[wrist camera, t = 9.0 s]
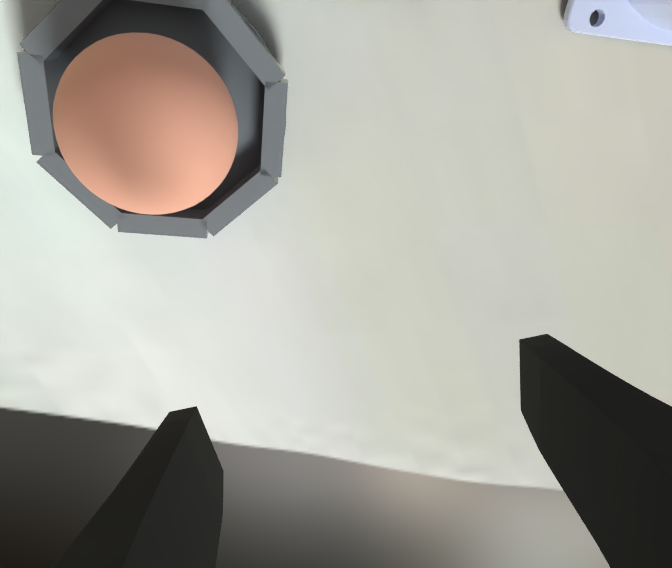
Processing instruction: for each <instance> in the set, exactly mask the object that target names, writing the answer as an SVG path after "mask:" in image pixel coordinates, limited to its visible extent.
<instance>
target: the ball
mask: <svg viewBox="0 0 672 568" xmlns="http://www.w3.org/2000/svg"><path fill="white" fill-rule="evenodd" d="M53 125H54V131H55V136H56V140H57V143H58V146H59V149H60V152H61V154H62V156H63V158H64V160H65V162H66V163H67V165H68V166H69V168H70V170H71V171H72V173H73V174H74V175H75V176H76V177H77V179H78V180H79V181H80V182H81V183H82V184H83V185H84V186H85V187H86V188H87V189H88V190H90V191H91V192H92V193H94V194H95V195H96V196H97V197H99V198H101V199H102V200H104V201H106V202H107V203H109V204H111V205H114V206H116V207H118V208H121V209H124V210H127V211H130V212H135V213H139V214H149V215H159V214H168V213H174V212H177V211H181V210H185V209H187V208H189V207H192V206H194V205H196V204H198V203H199V202H201V201H203V200H204V199H205V198H207V197H208V196H209V195H210V194H211V193H212V192H213V191H214V190H215V189H216V188H217V187H218V186H219V185H220V184H221V183H222V181H223V180H224V179H225V177H226V175H227V174H228V172H229V170H230V168H231V165H232V163H233V160H234V157H235V153H236V149H237V144H238V121H237V115H236V110H235V107H234V104H233V101H232V98H231V96H230V93H229V91H228V89H227V87H226V85H225V84H224V82H223V80H222V79H221V77H220V76H219V75H218V73H217V72H216V71H215V69H214V68H213V67H212V66H211V65H210V64H209V63H208V62H207V61H206V60H205V59H204V58H203V57H201V56H200V55H199V54H198V53H196V52H195V51H194V50H192V49H191V48H189V47H187V46H186V45H184V44H182V43H180V42H178V41H175V40H173V39H171V38H167V37H164V36H161V35H156V34H150V33H135V32H131V33H122V34H117V35H113V36H109V37H106V38H104V39H102V40H99V41H97V42H95V43H94V44H92V45H90V46H89V47H87V48H86V49H84V50H83V51H82V52H81V53H80V54H79V55H78V56H76V57H75V58H74V59H73V61H72V62H71V63H70V64H69V66H68V67H67V68H66V70H65V72H64V74H63V75H62V77H61V79H60V82H59V85H58V87H57V90H56V94H55V98H54V103H53Z"/></svg>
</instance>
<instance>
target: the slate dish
mask: <svg viewBox="0 0 672 568" xmlns="http://www.w3.org/2000/svg"><path fill="white" fill-rule="evenodd" d="M131 32H135V33H150V34H156V35H161V36H164V37H167V38H171V39H173V40H175V41H178V42H180V43H182V44H184V45H186V46H187V47H189V48H191V49H192V50H194V51H195V52H196V53H198V54H199V55H200V56H201V57H203V58H204V59H205V60H206V61H207V62H208V63H209V64H210V65H211V66H212V67H213V68H214V69H215V71H216V72H217V73H218V75H219V76H220V77H221V79H222V80H223V82H224V84H225V85H226V87H227V89H228V91H229V93H230V96H231V98H232V101H233V104H234V107H235V110H236V115H237V121H238V144H237V149H236V153H235V157H234V160H233V163H232V165H231V168H230V170H229V172H228V174H227V175H226V177H225V179H224V180H223V181H222V183H221V184H220V185H219V186H218V187H217V188H216V189H215V190H214V191H213V192H212V193H211V194H210V195H209V196H208V197H207V198H205V199H204V200H203V201H201V202H199V203H198V204H196V205H194V206H192V207H189V208H187V209H185V210H181V211H177V212H174V213H168V214H159V215H149V214H139V213H135V212H130V211H127V210H124V209H121V208H118V207H116V206H114V205H111V204H109V203H107V202H106V201H104V200H102V199H101V198H99V197H97V196H96V195H95V194H94V193H92V192H91V191H90V190H88V189H87V188H86V187H85V186H84V185H83V184H82V183H81V182H80V181H79V180H78V179H77V177H76V176H75V175H74V174H73V173H72V171H71V170H70V168H69V166H68V165H67V163H66V162H65V160H64V158H63V156H62V154H61V152H60V149H59V146H58V143H57V140H56V136H55V131H54V125H53V103H54V98H55V94H56V90H57V87H58V85H59V82H60V79H61V77H62V75H63V74H64V72H65V70H66V68H67V67H68V66H69V64H70V63H71V62H72V61H73V59H74V58H75V57H76V56H78V55H79V54H80V53H81V52H82V51H83V50H84V49H86V48H87V47H89V46H90V45H92V44H94V43H95V42H97V41H99V40H102V39H104V38H106V37H109V36H113V35H117V34H122V33H131ZM20 45H21V46H22V47H23V48H24V49H25V50H26V51H23V52H17V55H18V62H19V69H20V76H21V83H22V89H23V96H24V103H25V110H26V116H27V123H28V130H29V137H30V144H31V150H32V155H42V157H41V158H40V159H39V160H38V161H37V163H38V164H39V165H40V166H41V167H42V168H44V169H45V170H46V171H47V172H48V173H49V174H50V175H51V176H52V177H54V178H55V179H56V180H57V181H58V182H59V183H60V184H61V185H63V186H64V187H65V188H66V189H67V190H68V191H69V192H70V193H71V194H73V195H74V196H75V197H76V198H77V199H78V200H79V201H80V202H82V203H83V204H84V205H85V206H86V207H87V208H88V209H89V210H90V211H92V212H93V213H94V214H95V215H96V216H97V217H98V218H99V219H101V220H102V221H103V222H104V223H105V224H106V225H107V226H108V227H109V228H112V227H113V226H114V225H116V224H118V232H127V233H141V234H155V235H168V236H182V237H196V238H207V236H208V233H209V232H210V233H211V234H212V235H213V236H214V235H216V234H217V233H218V232H219V231H221V230H222V229H223V228H224V227H225V226H227V225H228V224H229V223H230V222H231V221H233V220H234V219H235V218H236V217H238V216H239V215H240V214H241V213H242V212H244V211H245V210H246V209H247V208H249V207H250V206H251V205H252V204H253V203H255V202H256V201H257V200H258V199H260V198H261V197H262V196H263V195H264V194H266V193H267V192H268V191H269V190H270V189H272V188H273V187H274V186H275V185H277V184H278V177H281V171H282V157H283V143H284V135H285V127H286V102H287V88H288V80H287V79H282V78H283V77H284V76H285V71H284V70H283V68H282V67H281V66H280V64H279V63H278V62H277V61H276V59H275V58H274V57H273V55H272V54H271V52H270V50H269V49H268V47H267V45H266V43H265V42H264V40H263V39H262V37H261V36H260V34H259V33H258V31H257V30H256V29H255V28H254V27H253V25H252V24H251V23H250V22H249V21H248V20H247V19H246V17H245V16H244V15H242V14H241V13H240V12H239V11H238V10H237V9H236V8H235V7H234V6H233V4H232V3H231V2H230V1H229V0H61V1H60V2H59V3H58V4H57V5H56V6H55V7H54V8H53V9H52V10H51V11H50V12H49V13H48V14H47V16H46V17H45V18H44V19H43V20H42V21H41V22H40V23H39V24H38V25H37V26H36V27H35V28H34V29H33V30H32V31H31V32H30V34H29V35H28V36H27V37H26V38H25V39H24V40H23V41H22V42H21V43H20Z"/></svg>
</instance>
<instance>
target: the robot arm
mask: <svg viewBox="0 0 672 568" xmlns="http://www.w3.org/2000/svg"><path fill="white" fill-rule="evenodd" d="M595 10H597V12H598V14H599V17H598V20H597V22H596V24H594V25H593V26H591V24H590V22H589V20H590V16H591V14H592V12H594V11H595ZM564 24H565V27H566V28H567V29H568V30H569V31H571V32H575V33H582V34H589V35H596V36H604V37H611V38H618V39H625V40H633V41H640V42H647V43H654V44H662V45H669V46H672V0H568V3H567V6H566V10H565V13H564ZM519 342H520V393H521V411H522V414H523V416H524V418H525V420H526V423H527V425H528V427H529V429H530V432H531V434H532V436H533V438H534V440H535V442H536V444H537V446H538V449H539V451H540V452H541V454H542V456H543V457H544V459H545V461H546V462H547V464H548V466H549V467H550V469H551V471H552V472H553V474H554V475H555V477H556V479H557V480H558V482H559V484H560V485H561V487H562V488H563V490H564V492H565V493H566V495H567V496H568V498H569V500H570V501H571V503H572V505H573V506H574V507H575V509H576V511H577V513H578V514H579V516H580V517H581V519H582V521H583V522H584V524H585V525H586V527H587V529H588V530H589V531H590V533H591V535H592V536H593V538H594V540H595V541H596V543H597V545H598V546H599V548H600V550H601V552H602V554H603V555H604V557H605V559H606V560H607V562H608V564H609V566H610V568H672V407H671V406H669V405H668V404H666V403H664V402H662V401H660V400H658V399H656V398H654V397H652V396H650V395H649V394H647V393H645V392H643V391H641V390H639V389H638V388H636V387H634V386H632V385H631V384H629V383H627V382H625V381H624V380H622V379H620V378H619V377H617V376H615V375H613V374H612V373H610V372H608V371H607V370H605V369H603V368H602V367H600V366H598V365H597V364H595V363H594V362H592V361H590V360H589V359H587V358H585V357H584V356H582V355H581V354H579V353H577V352H576V351H574V350H573V349H571V348H569V347H568V346H566V345H565V344H563V343H561V342H560V341H558V340H556V339H555V338H553V337H551V336H550V335H548V334H544V335H539V336H535V337H530V338H525V339H520V340H519ZM222 513H223V469H222V467H221V464H220V462H219V459H218V457H217V454H216V452H215V450H214V447H213V445H212V442H211V440H210V438H209V435H208V433H207V430H206V428H205V426H204V423H203V421H202V418H201V416H200V413H199V411H198V409H197V406H196V407H191V408H187V409H182V410H177V411H172V412H169V413H168V415H167V416H166V418H165V419H164V420H163V422H162V423H161V425H160V426H159V427H158V429H157V430H156V432H155V433H154V435H153V436H152V437H151V439H150V440H149V442H148V443H147V445H146V446H145V447H144V449H143V450H142V452H141V453H140V455H139V456H138V457H137V459H136V460H135V462H134V463H133V465H132V466H131V467H130V469H129V470H128V471H127V473H126V475H125V476H124V477H123V478H122V480H121V481H120V482H119V484H118V485H117V487H116V488H115V489H114V491H113V492H112V493H111V495H110V496H109V497H108V498H107V500H106V501H105V502H104V504H103V505H102V506H101V507H100V509H99V510H98V511H97V512H96V514H95V515H94V516H93V517H92V519H91V520H90V521H89V522H88V524H87V525H86V526H85V527H84V529H83V530H82V531H81V533H80V534H79V535H78V536H77V537H76V539H75V540H74V541H73V542H72V543H71V544H70V546H69V547H68V548H67V549H66V550H65V551H64V552H63V554H62V555H61V556H60V557H59V558H58V559H57V560H56V561H55V562H54V564H53V565H52V566H51V567H50V568H215V564H216V557H217V551H218V544H219V537H220V530H221V522H222V515H223V514H222Z"/></svg>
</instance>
